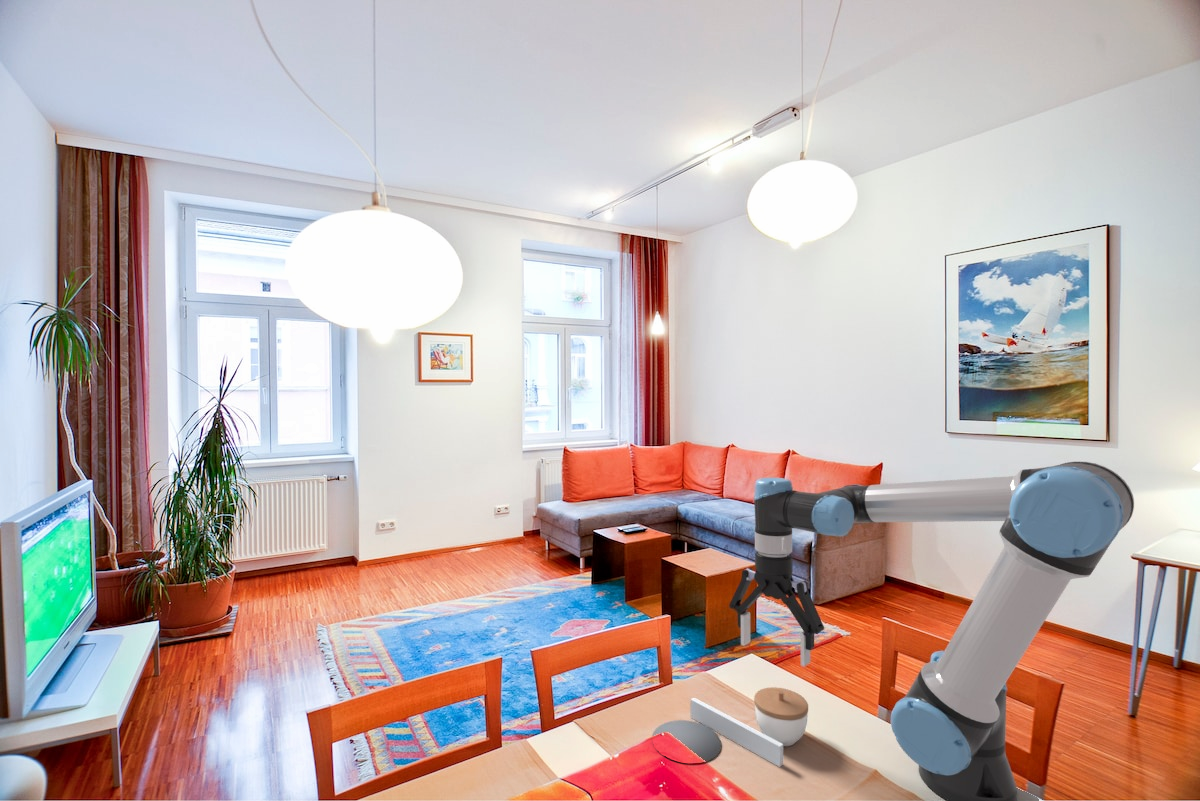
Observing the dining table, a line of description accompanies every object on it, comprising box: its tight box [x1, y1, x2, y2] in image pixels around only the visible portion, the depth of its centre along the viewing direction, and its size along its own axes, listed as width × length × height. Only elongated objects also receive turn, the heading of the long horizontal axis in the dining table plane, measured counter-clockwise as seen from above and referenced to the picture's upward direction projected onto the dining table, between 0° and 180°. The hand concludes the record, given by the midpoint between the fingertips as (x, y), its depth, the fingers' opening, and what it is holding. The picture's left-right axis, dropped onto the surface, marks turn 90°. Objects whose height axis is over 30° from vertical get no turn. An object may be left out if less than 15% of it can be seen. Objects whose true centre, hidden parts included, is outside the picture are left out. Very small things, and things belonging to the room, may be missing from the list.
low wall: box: [689, 697, 784, 768], centre depth 117 cm, size 22×1×4 cm, turn 41°
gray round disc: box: [651, 719, 722, 763], centre depth 117 cm, size 14×14×1 cm
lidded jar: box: [753, 686, 809, 747], centre depth 118 cm, size 11×11×9 cm
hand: (774, 653), depth 119 cm, fingers open, 13 cm apart
